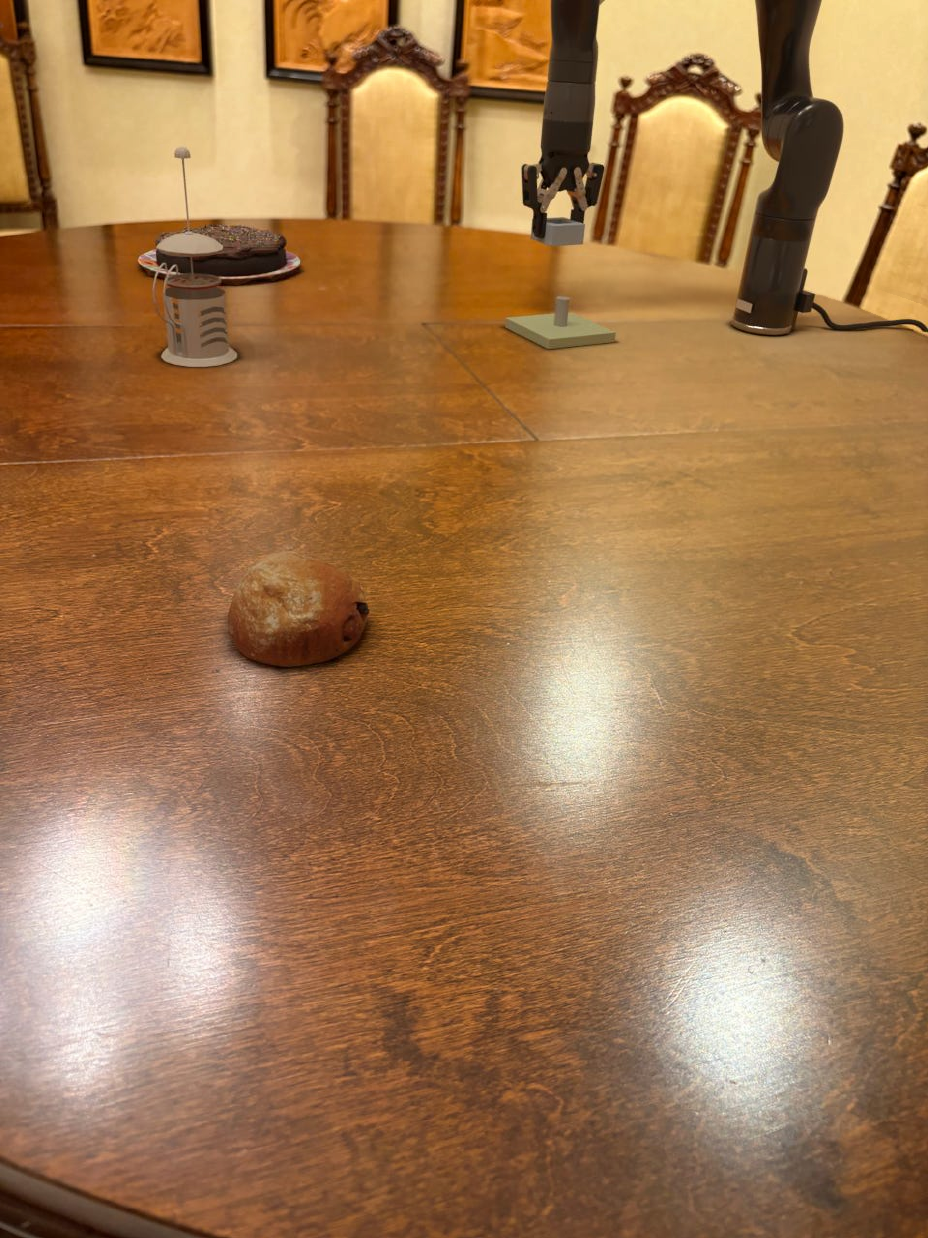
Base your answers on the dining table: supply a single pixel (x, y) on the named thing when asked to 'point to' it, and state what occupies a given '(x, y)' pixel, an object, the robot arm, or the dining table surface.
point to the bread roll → (296, 611)
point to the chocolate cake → (230, 256)
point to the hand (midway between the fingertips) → (557, 235)
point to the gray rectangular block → (561, 232)
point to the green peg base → (560, 328)
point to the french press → (193, 301)
